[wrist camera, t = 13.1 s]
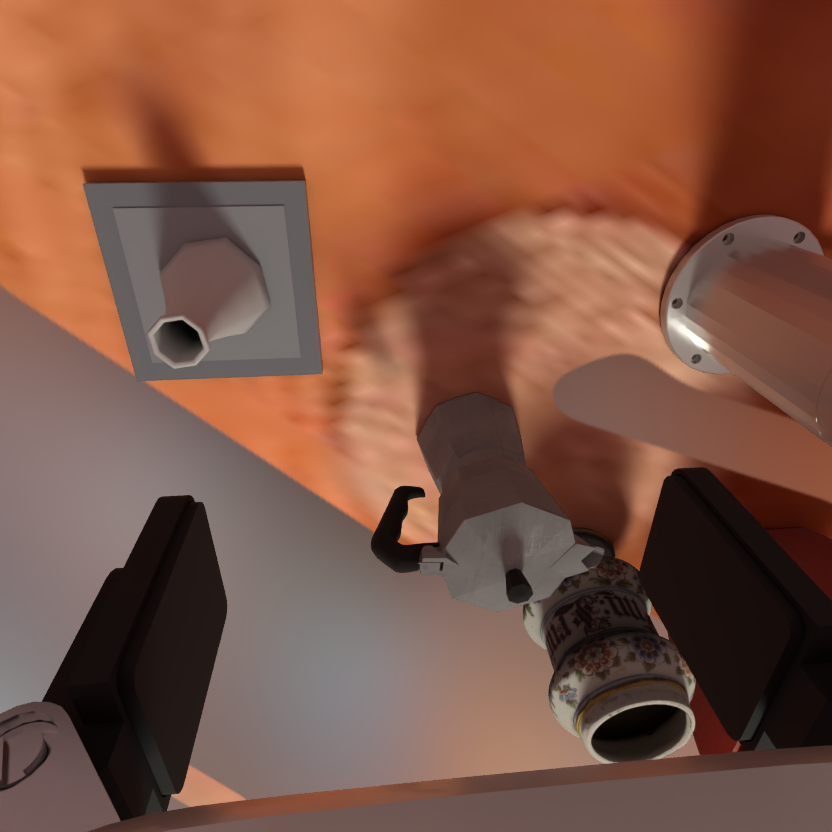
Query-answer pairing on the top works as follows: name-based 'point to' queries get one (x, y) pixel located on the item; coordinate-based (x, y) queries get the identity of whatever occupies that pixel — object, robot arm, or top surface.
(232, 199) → the slate coaster
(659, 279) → the top surface
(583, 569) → the coffeepot
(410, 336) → the top surface
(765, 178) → the top surface
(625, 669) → the apothecary jar
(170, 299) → the flask
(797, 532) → the plant pot
